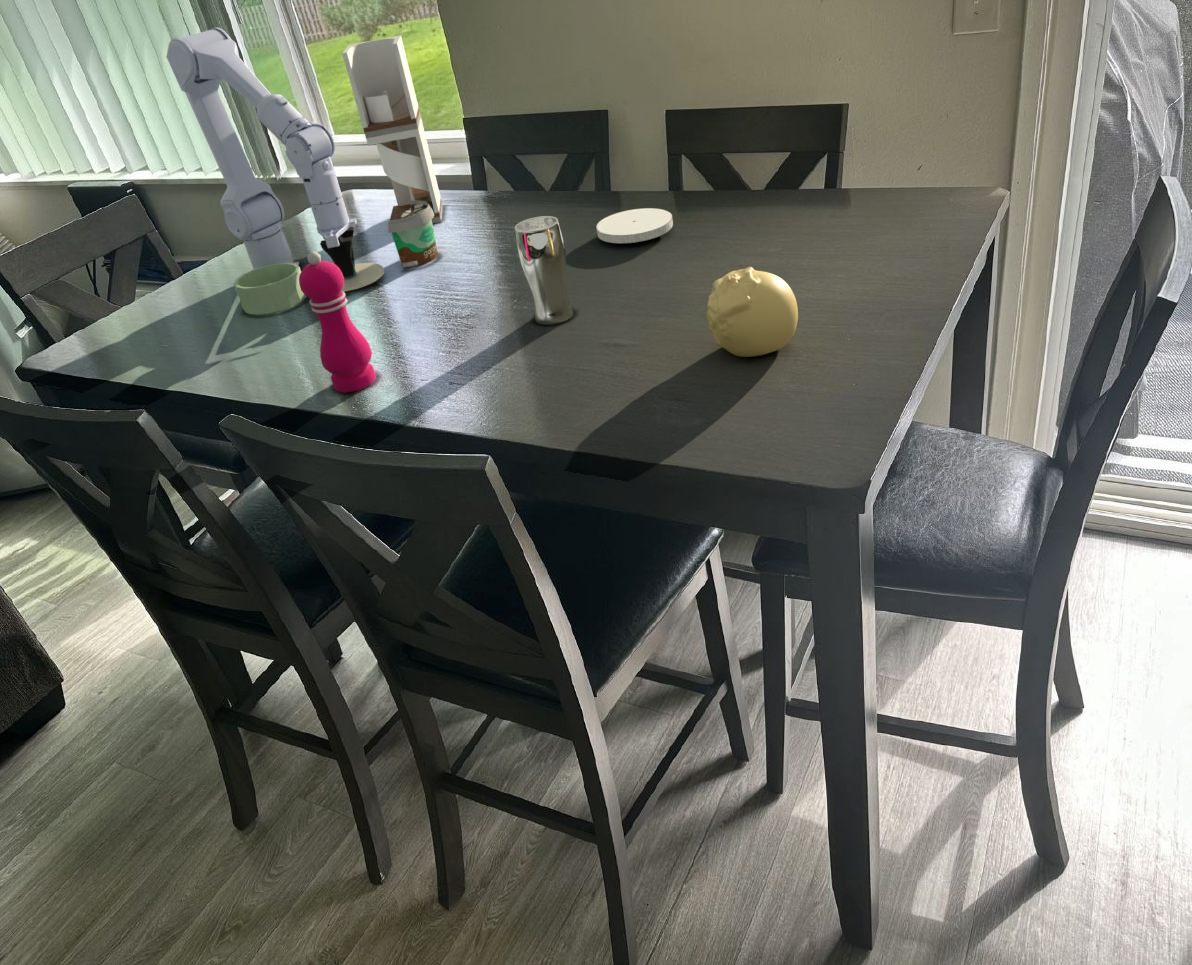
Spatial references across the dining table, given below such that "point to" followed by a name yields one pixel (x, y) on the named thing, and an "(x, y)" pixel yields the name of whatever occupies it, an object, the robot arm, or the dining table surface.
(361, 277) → the tub lid
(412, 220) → the food container
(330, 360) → the pepper mill
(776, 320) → the sculpture
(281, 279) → the tub
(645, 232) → the plastic lid
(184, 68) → the robot arm
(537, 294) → the beer glass
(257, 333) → the dining table surface
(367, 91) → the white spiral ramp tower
